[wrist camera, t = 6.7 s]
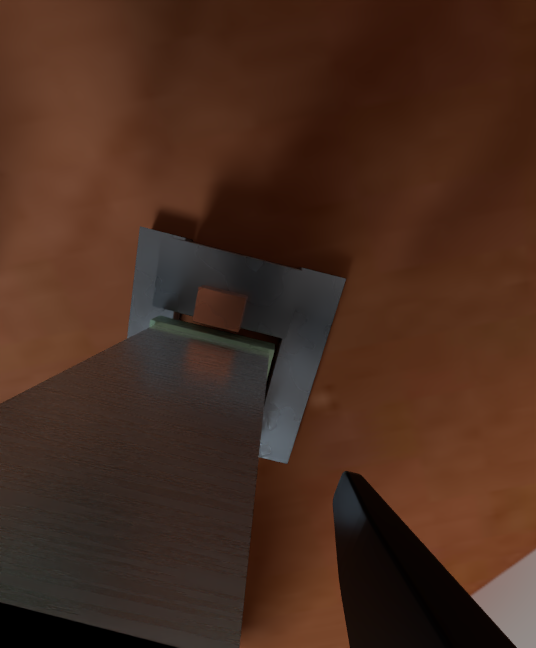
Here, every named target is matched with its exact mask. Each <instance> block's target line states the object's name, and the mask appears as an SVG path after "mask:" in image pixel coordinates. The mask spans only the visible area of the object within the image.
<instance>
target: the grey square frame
mask: <svg viewBox="0 0 536 648" xmlns="http://www.w3.org/2000/svg"><path fill="white" fill-rule="evenodd" d="M345 281H346V279H345V278H341V277H337V276H333V275H329V274H325V273H321V272H317V271H314V270H310V269H306V268H302V267H300V269H297V268H293V267H289V266H285V265H281V264H277V263H273V262H269V261H265V260H261V259H257V258H254V257H250V256H246V255H242V254H238V253H234V252H230V251H226V250H222V249H218V248H214V247H210V246H206V245H202V244H198V243H194V242H193V240H192V239H188V238H184V237H180V236H176V235H172V234H168V233H164V232H160V231H156V230H152V229H148V228H144V227H140V231H139V240H138V249H137V257H136V266H135V275H134V283H133V292H132V301H131V310H130V318H129V327H128V336H127V339H128V338H129V337H131V336H133V335H135V334H137V333H139V332H141V331H143V330H145V329H147V328H149V325H150V320H151V319H153V318H155V317H157V316H159V315H160V316H164V317H168V318H173V319H177V320H180V315H181V313H182V314H186V315H190V316H193V321H194V322H198V323H202V324H206V325H210V326H214V327H218V328H222V329H226V330H230V331H234V332H239V330H240V328H243V329H247V330H251V331H255V332H259V333H263V334H267V335H271V336H275V337H279V338H281V339H280V343H279V346H278V350H277V354H276V358H275V361H274V365H273V369H272V372H271V376H270V380H269V383H268V387H267V391H266V395H265V400H264V410H263V420H262V430H261V440H260V449H259V457H261V458H265V459H269V460H273V461H278V462H282V463H286V464H287V463H288V460H289V457H290V454H291V451H292V447H293V444H294V441H295V438H296V435H297V432H298V429H299V425H300V422H301V419H302V416H303V413H304V410H305V407H306V403H307V400H308V397H309V394H310V391H311V388H312V385H313V381H314V378H315V375H316V372H317V369H318V366H319V363H320V359H321V356H322V353H323V350H324V347H325V344H326V340H327V337H328V334H329V331H330V328H331V325H332V322H333V318H334V315H335V312H336V309H337V306H338V303H339V300H340V296H341V293H342V290H343V287H344V284H345Z"/></svg>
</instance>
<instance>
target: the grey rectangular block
mask: <svg viewBox="0 0 536 648" xmlns="http://www.w3.org/2000/svg"><path fill="white" fill-rule="evenodd" d="M274 351H275V344H273V343H269V342H265V341H261V340H257V339H253V338H249V337H245V336H241V335H237V334H233V333H229V332H225V331H221V330H217V329H213V328H209V327H205V326H201V325H197V324H193V323H189V322H185V321H181V320H177V319H173V318H168V317H164V316H160V315H159V316H157V317H155V318H153V319H151V320H150V325H149V328H147V329H145V330H143V331H141V332H139V333H137V334H135V335H133V336H131V337H129V338H128V339H126V340H124V341H122V342H120V343H118V344H116V345H114V346H112V347H110V348H108V349H106V350H104V351H102V352H100V353H98V354H96V355H94V356H92V357H90V358H88V359H87V360H85V361H83V362H81V363H79V364H77V365H75V366H73V367H71V368H69V369H67V370H65V371H63V372H61V373H59V374H57V375H55V376H53V377H51V378H49V379H47V380H46V381H44V382H42V383H40V384H38V385H36V386H34V387H32V388H30V389H28V390H26V391H24V392H22V393H20V394H18V395H16V396H14V397H12V398H10V399H8V400H6V401H4V402H3V403H1V404H0V648H239V646H240V636H241V626H242V616H243V606H244V596H245V587H246V577H247V567H248V557H249V547H250V538H251V528H252V518H253V508H254V498H255V489H256V479H257V469H258V459H259V449H260V440H261V430H262V420H263V410H264V400H265V391H266V381H267V377H268V373H269V370H270V366H271V362H272V358H273V355H274Z"/></svg>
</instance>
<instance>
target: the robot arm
mask: <svg viewBox="0 0 536 648" xmlns="http://www.w3.org/2000/svg"><path fill="white" fill-rule="evenodd" d="M333 514H334V526H335V539H336V551H337V563H338V574H339V583H340V590H341V596H342V602H343V608H344V614H345V620H346V626H347V632H348V638H349V644H350V648H517V647H516V646H515V645H514V644H513V643H512V642H511V641H510V639H508V637H507V636H506V635H505V634H504V633H503V632H502V631H501V630H500V628H499V627H498V626H497V625H496V624H495V623H494V622H493V621H492V620H491V618H490V617H489V616H488V615H487V614H486V613H485V612H484V611H483V610H482V609H481V607H480V606H479V605H478V604H477V603H476V602H475V601H474V600H473V598H472V597H471V596H470V595H469V594H468V593H467V592H466V591H465V590H464V588H463V587H462V586H461V585H460V584H459V583H458V582H457V581H456V580H455V578H454V577H453V576H452V575H451V574H450V573H449V572H448V571H447V570H446V568H445V567H444V566H443V565H442V564H441V563H440V562H439V561H438V560H437V558H436V557H435V556H434V555H433V554H432V553H431V552H430V551H429V550H428V549H427V547H426V546H425V545H424V544H423V543H422V542H421V541H420V540H419V539H418V537H417V536H416V535H415V534H414V533H413V532H412V531H411V530H410V529H409V527H408V526H407V525H406V524H405V523H404V522H403V521H402V520H401V519H400V517H399V516H398V515H397V514H396V513H395V512H394V511H393V510H392V509H391V507H390V506H389V505H388V504H387V503H386V502H385V501H384V500H383V499H382V497H381V496H380V495H379V494H378V493H377V492H376V491H375V490H374V489H373V487H372V486H371V485H370V484H369V483H368V482H367V481H366V480H365V479H364V478H363V477H362V476H361V475H360V474H358V473H353V472H349V471H345V472H343V474H342V476H341V478H340V481H339V483H338V486H337V489H336V491H335V494H334V497H333Z"/></svg>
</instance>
